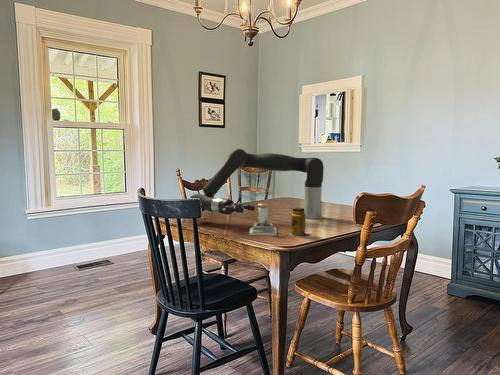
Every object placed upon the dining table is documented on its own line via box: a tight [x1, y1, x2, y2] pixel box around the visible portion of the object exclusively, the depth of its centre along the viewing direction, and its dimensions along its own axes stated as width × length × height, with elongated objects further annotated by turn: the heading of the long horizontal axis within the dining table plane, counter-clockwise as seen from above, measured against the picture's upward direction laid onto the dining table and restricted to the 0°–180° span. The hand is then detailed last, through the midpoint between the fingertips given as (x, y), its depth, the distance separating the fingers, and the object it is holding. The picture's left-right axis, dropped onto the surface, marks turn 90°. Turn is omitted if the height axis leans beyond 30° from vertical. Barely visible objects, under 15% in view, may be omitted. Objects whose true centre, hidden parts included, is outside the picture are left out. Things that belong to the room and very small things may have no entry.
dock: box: [248, 222, 278, 237], centre depth 173 cm, size 12×12×4 cm
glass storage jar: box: [257, 202, 269, 226], centre depth 173 cm, size 5×5×12 cm
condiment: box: [288, 207, 310, 238], centre depth 169 cm, size 7×8×12 cm
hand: (248, 209), depth 178 cm, fingers open, 8 cm apart
